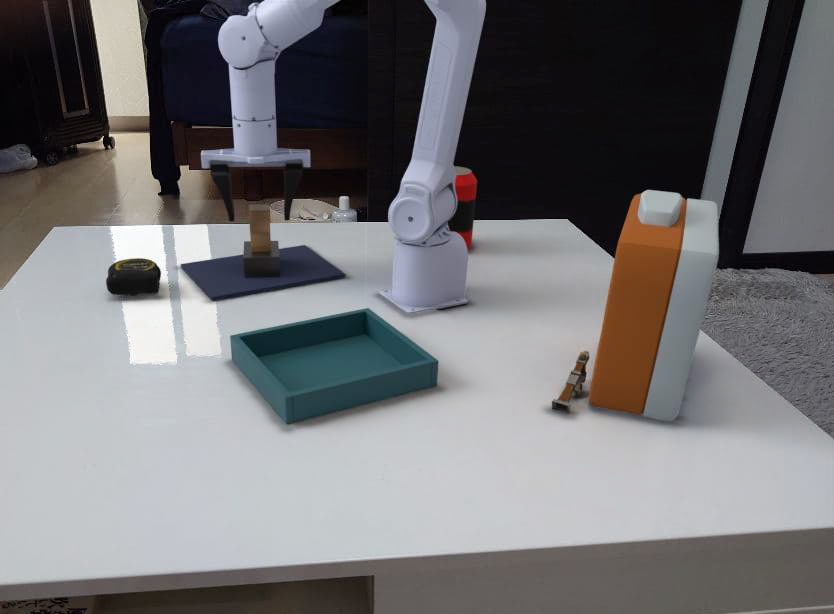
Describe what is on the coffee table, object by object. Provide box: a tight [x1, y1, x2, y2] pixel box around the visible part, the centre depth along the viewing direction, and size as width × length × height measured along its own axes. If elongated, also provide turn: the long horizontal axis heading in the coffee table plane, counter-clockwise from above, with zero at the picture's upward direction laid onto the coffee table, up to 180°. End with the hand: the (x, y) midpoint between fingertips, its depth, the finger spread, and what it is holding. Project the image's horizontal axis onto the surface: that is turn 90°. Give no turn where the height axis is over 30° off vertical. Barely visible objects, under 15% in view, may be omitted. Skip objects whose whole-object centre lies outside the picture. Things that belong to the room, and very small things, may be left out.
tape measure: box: [105, 257, 162, 297], centre depth 105 cm, size 7×7×4 cm
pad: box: [180, 244, 346, 302], centre depth 112 cm, size 20×14×1 cm
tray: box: [229, 307, 440, 425], centre depth 85 cm, size 18×16×4 cm
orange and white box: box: [588, 189, 720, 422], centre depth 81 cm, size 18×9×21 cm, turn 159°
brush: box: [242, 203, 280, 278], centre depth 110 cm, size 5×7×9 cm
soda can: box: [447, 165, 478, 251], centre depth 121 cm, size 8×8×12 cm
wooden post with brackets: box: [551, 350, 590, 413], centre depth 81 cm, size 2×8×4 cm, turn 149°
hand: (259, 218), depth 109 cm, fingers open, 7 cm apart
